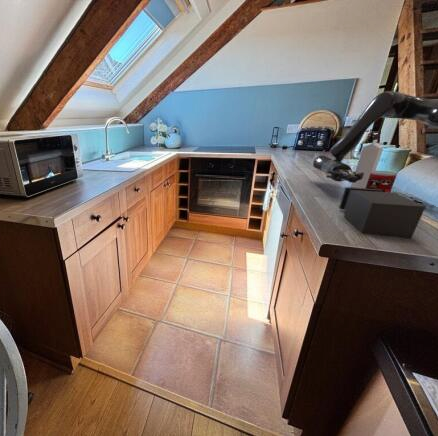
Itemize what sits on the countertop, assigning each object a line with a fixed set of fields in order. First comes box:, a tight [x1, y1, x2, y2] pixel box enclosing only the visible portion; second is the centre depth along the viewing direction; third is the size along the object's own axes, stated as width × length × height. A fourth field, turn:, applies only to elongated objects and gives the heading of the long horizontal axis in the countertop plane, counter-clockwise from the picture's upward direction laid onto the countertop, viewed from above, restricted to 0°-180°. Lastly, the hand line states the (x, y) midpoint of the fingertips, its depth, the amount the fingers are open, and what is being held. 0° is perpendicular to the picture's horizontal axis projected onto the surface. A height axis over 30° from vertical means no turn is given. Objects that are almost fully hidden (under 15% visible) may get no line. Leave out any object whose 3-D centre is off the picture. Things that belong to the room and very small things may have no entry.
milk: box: [350, 139, 385, 189], centre depth 113 cm, size 6×6×22 cm
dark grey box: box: [343, 190, 426, 239], centre depth 74 cm, size 14×12×10 cm
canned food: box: [365, 170, 398, 192], centre depth 100 cm, size 8×8×11 cm
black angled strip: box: [338, 187, 383, 212], centre depth 83 cm, size 17×10×8 cm, turn 161°
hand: (353, 180), depth 92 cm, fingers closed
